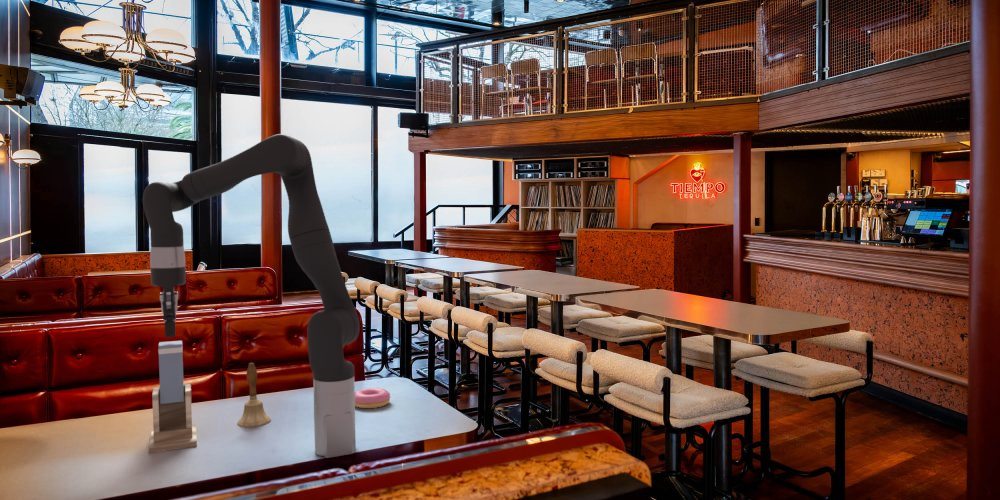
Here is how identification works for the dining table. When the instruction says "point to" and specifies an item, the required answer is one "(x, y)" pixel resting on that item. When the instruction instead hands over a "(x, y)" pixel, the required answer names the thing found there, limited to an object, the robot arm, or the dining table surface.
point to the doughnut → (371, 398)
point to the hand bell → (253, 404)
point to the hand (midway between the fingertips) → (170, 336)
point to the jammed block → (171, 372)
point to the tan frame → (172, 423)
